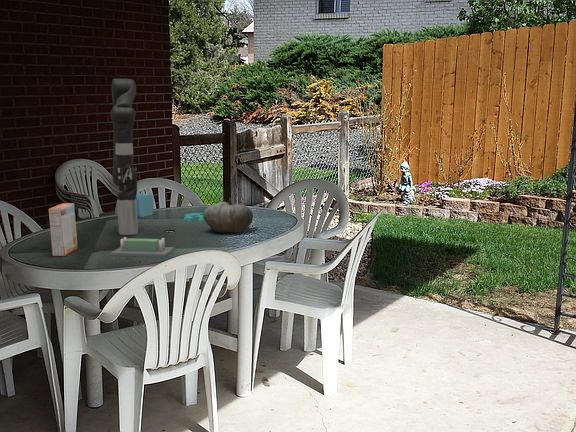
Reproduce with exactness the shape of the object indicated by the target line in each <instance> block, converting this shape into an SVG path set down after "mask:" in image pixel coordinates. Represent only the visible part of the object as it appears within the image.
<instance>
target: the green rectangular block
mask: <svg viewBox="0 0 576 432" xmlns="http://www.w3.org/2000/svg"><path fill="white" fill-rule="evenodd" d="M159 240H160V238H133V237H132V238H130V237H129V238H126V240H125V241H124V240H123V243H124V245H125V251H146V252H156V251H158V250H159Z"/></svg>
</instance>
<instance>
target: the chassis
mask: <svg viewBox="0 0 576 432" xmlns="http://www.w3.org/2000/svg"><path fill="white" fill-rule="evenodd" d="M126 239H127V237H126V236H123V238H121V239H119V241H120V246H119V247H118V248H116V249H115V250H113V251H111V252H110V253H109V254H110V257H140V258H141V257H144V258H145V257H147V258H166V257H167V256H168V255H170V254H171V253H172V252H174V251H175V247H174V246H166V245H165V242H166V241H165V237H161V239H159V250H158V251H156V252H146V251H125V245H124V241H125V240H126Z"/></svg>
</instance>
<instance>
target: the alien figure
mask: <svg viewBox="0 0 576 432" xmlns="http://www.w3.org/2000/svg"><path fill="white" fill-rule="evenodd" d="M203 213H204V212H191V213H186V214H184V217H183V221H184V220H187V221H186V222H193V221H192V220H194V221H197V223H198V222H200V223H199V224H203V223H202V222H204V223H205V220H204V216H203ZM197 219H198V220H197Z"/></svg>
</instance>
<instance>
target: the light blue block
mask: <svg viewBox="0 0 576 432" xmlns="http://www.w3.org/2000/svg"><path fill="white" fill-rule="evenodd" d="M136 201H137V218H145V216H146V217H149V216H148V215H150V216H153V215H152V214H154V213H155V211H154V196H153V194H152V193H151V194H150V193H143V194H137V195H136Z"/></svg>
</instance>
